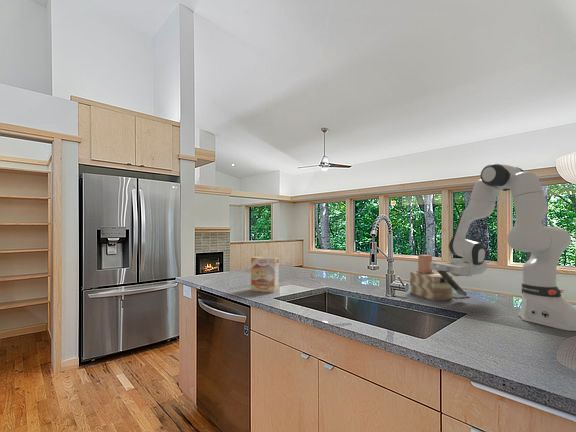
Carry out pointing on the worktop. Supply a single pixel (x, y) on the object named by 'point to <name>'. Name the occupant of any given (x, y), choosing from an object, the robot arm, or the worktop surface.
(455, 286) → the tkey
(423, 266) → the reddish pink block
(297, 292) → the worktop surface
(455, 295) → the pad
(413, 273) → the beige patterned box
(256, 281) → the coffeecake box
